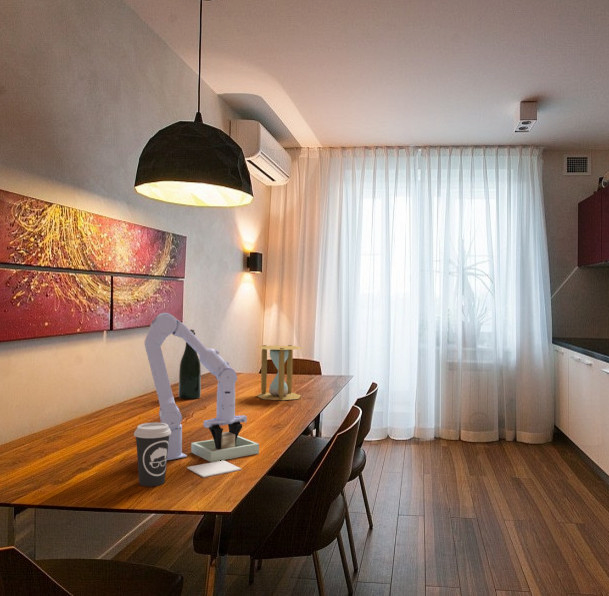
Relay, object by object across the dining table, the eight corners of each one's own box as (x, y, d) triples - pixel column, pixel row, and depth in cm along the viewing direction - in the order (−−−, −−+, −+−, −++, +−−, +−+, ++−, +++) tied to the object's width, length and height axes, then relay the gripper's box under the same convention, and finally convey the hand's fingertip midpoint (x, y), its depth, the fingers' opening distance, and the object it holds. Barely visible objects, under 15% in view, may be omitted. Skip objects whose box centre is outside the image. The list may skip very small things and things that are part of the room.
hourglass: (254, 393, 291) (254, 344, 291) (297, 392, 295) (298, 344, 295) (258, 401, 268) (259, 348, 268) (305, 400, 272) (306, 348, 272)
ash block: (222, 455, 177) (222, 436, 177) (215, 452, 180) (215, 433, 180) (234, 453, 179) (235, 434, 179) (227, 450, 183) (228, 431, 183)
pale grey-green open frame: (210, 462, 169) (211, 452, 169) (191, 452, 180) (191, 442, 180) (258, 453, 180) (259, 443, 180) (237, 444, 190) (237, 435, 190)
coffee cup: (173, 476, 155) (174, 422, 155) (166, 488, 146) (167, 430, 146) (138, 476, 155) (139, 421, 155) (128, 488, 145) (129, 429, 145)
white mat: (203, 477, 155) (203, 476, 155) (187, 468, 163) (187, 467, 163) (241, 469, 162) (241, 468, 162) (223, 461, 170) (223, 460, 170)
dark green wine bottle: (177, 396, 278) (178, 328, 278) (199, 395, 282) (200, 328, 281) (179, 400, 268) (180, 330, 268) (201, 399, 271) (203, 330, 271)
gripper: (211, 409, 172) (210, 453, 172) (252, 404, 181) (251, 446, 181) (200, 405, 178) (199, 448, 178) (240, 400, 187) (239, 442, 187)
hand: (225, 447), depth 180 cm, fingers closed on ash block, 4 cm apart
